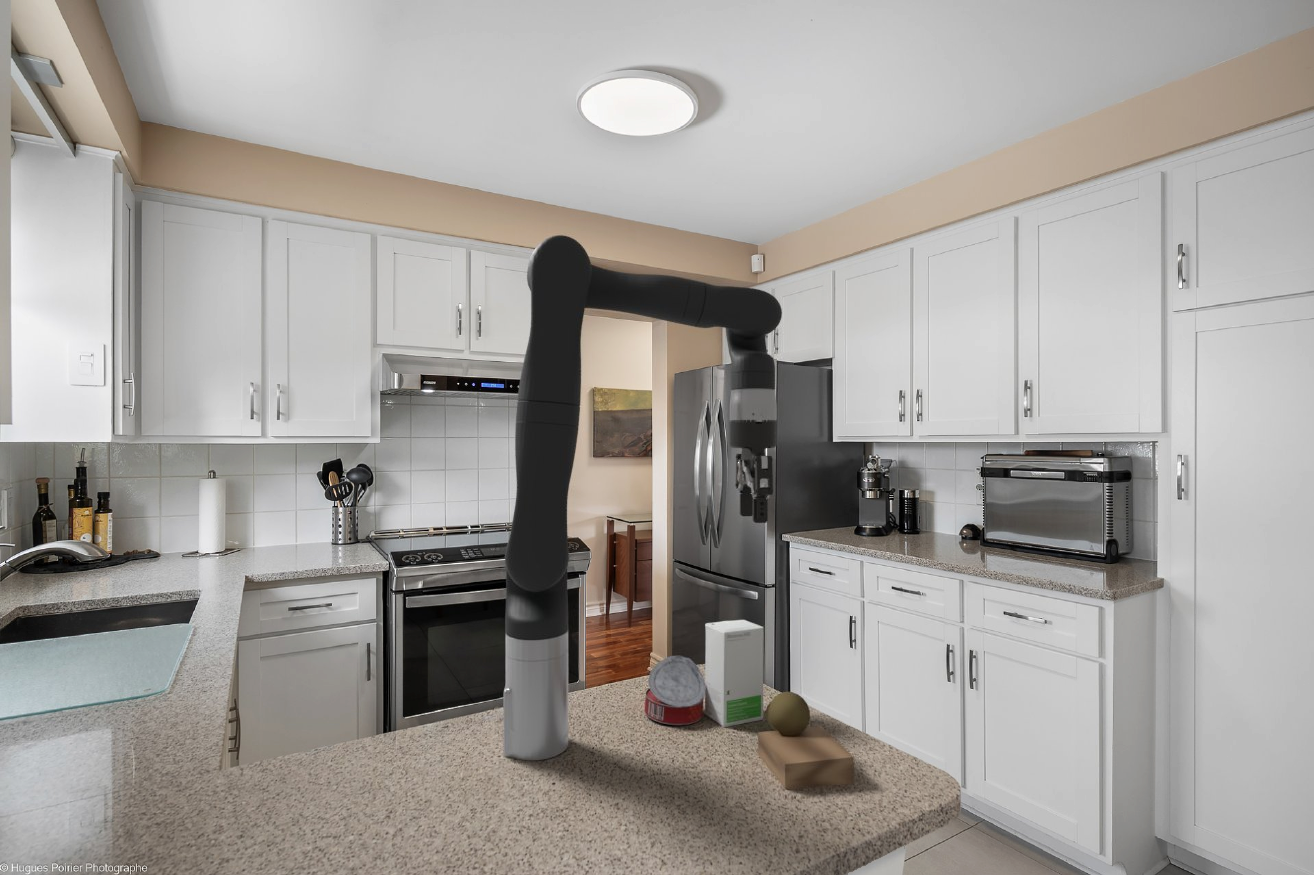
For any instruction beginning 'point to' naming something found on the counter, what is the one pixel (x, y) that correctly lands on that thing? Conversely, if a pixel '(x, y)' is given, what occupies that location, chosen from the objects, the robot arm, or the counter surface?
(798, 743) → the walnut block
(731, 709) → the skincare box
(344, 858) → the counter surface
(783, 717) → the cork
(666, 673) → the canned food
